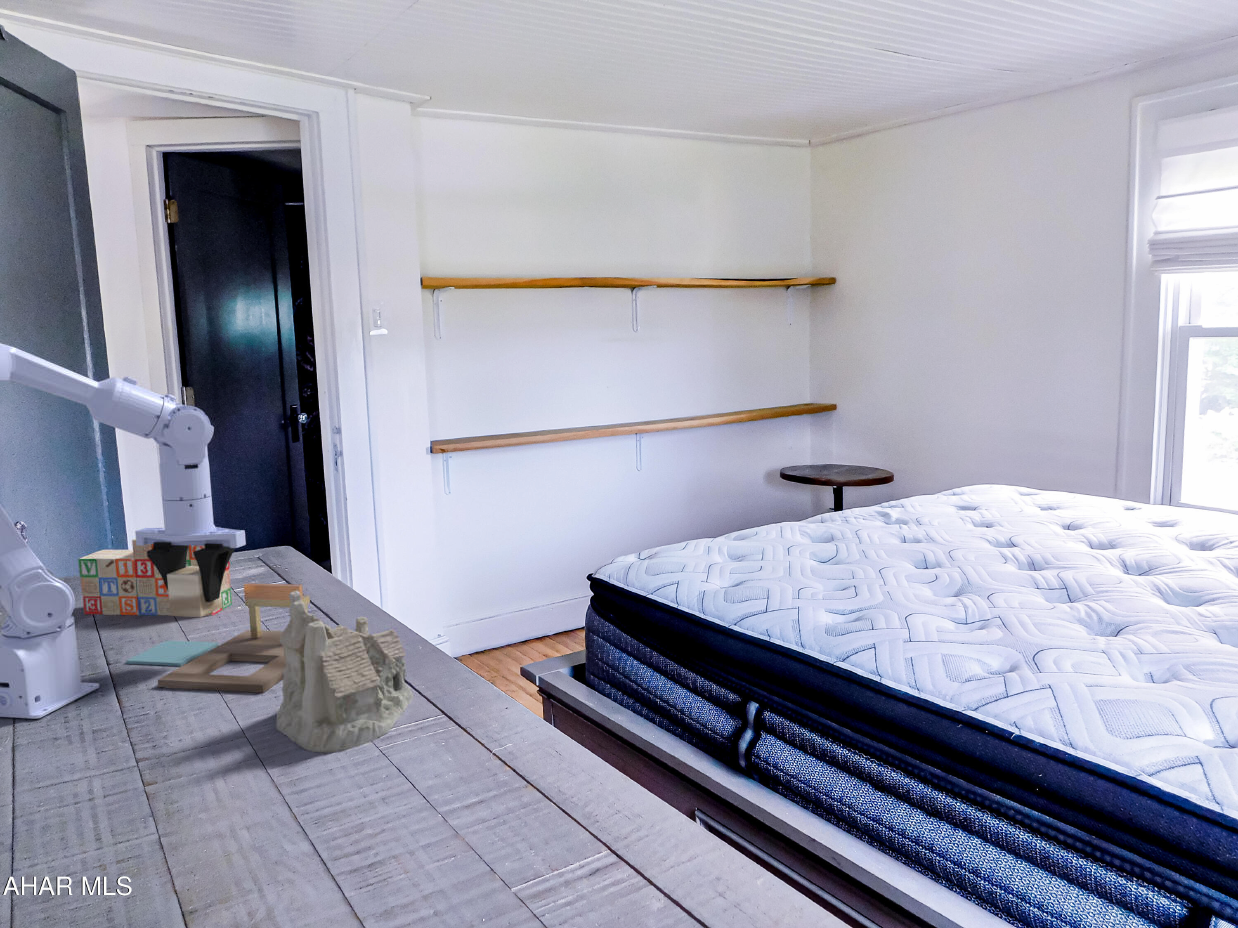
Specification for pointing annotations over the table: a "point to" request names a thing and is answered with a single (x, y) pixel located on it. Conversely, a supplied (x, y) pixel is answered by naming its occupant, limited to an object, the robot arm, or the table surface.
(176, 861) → the table surface
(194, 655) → the teal square plate
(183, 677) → the puzzle board
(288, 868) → the table surface
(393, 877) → the table surface
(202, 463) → the robot arm
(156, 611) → the stack of blocks
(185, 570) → the birch block
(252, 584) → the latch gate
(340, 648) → the ceramic cottage
